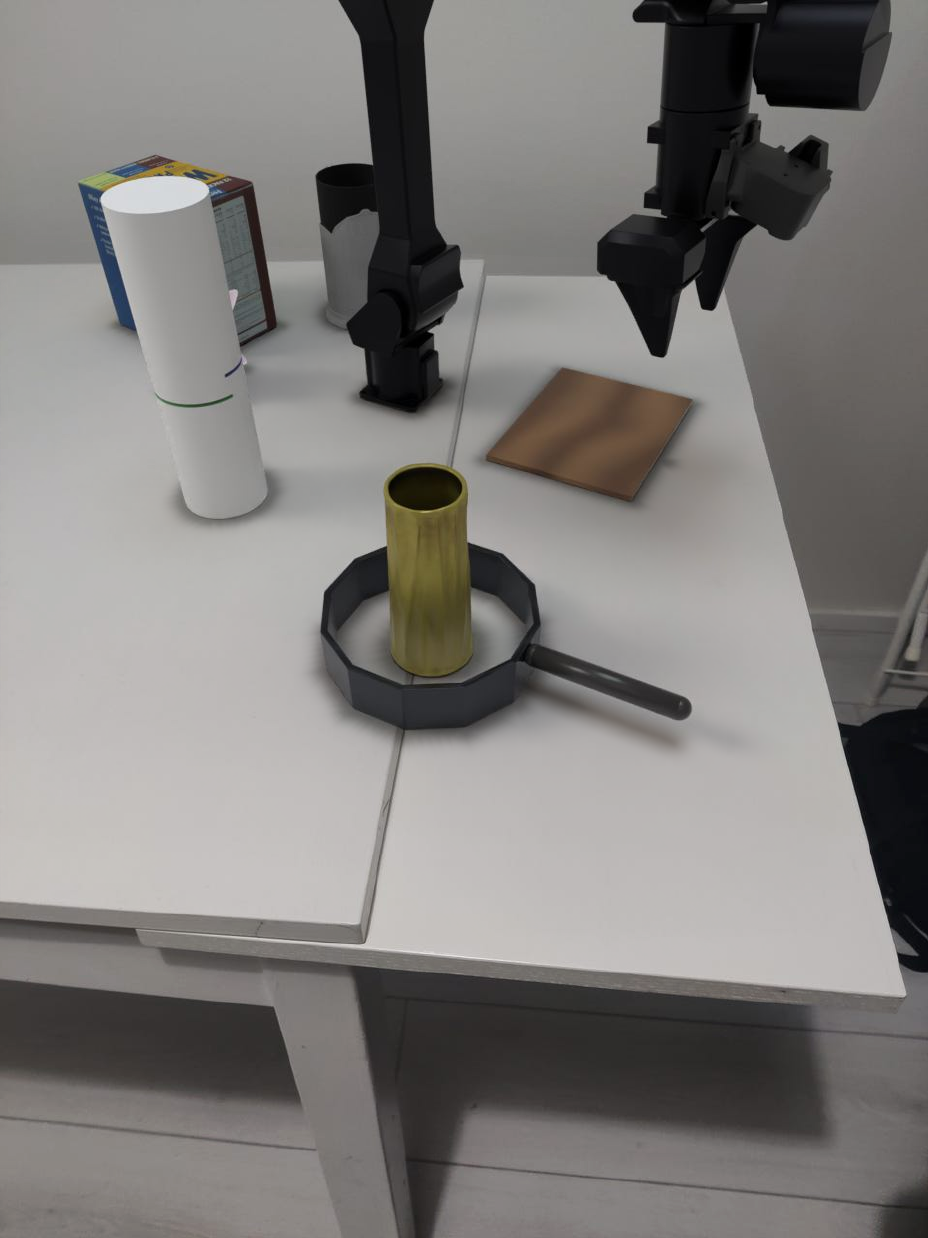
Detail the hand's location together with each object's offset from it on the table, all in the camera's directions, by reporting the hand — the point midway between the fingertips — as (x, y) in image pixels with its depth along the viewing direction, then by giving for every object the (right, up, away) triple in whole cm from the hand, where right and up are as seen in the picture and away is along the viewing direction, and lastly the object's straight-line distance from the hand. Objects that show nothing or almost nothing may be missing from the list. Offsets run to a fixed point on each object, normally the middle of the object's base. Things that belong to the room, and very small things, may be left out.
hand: (684, 331), depth 68 cm
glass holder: (-30, +15, +36) cm, 49 cm away
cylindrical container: (-38, -11, +9) cm, 41 cm away
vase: (-19, -24, -4) cm, 31 cm away
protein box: (-47, +11, +32) cm, 58 cm away
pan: (-14, -26, -6) cm, 30 cm away
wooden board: (-5, -4, +16) cm, 17 cm away
